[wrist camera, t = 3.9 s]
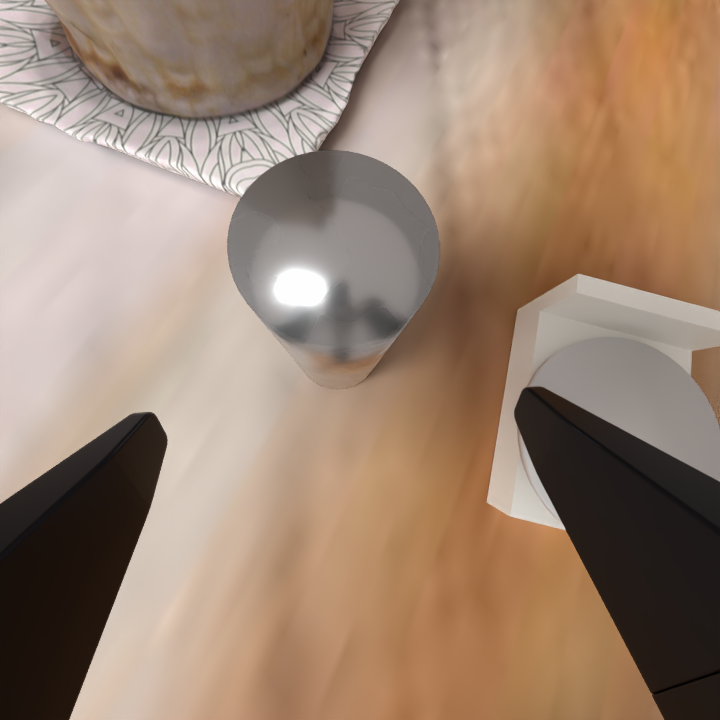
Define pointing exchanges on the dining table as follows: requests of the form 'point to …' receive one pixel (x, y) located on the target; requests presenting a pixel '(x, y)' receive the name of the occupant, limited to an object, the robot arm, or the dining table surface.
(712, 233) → the dining table surface
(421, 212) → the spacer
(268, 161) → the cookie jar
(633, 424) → the scale
